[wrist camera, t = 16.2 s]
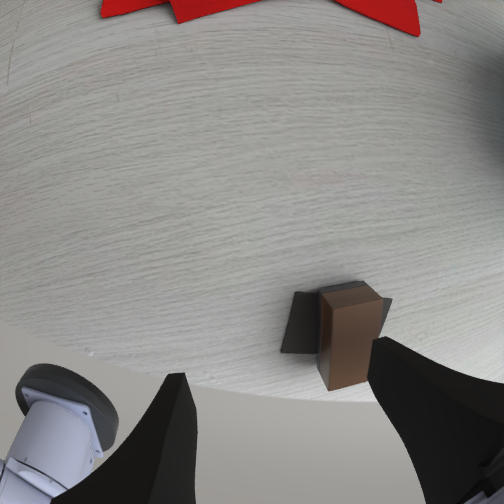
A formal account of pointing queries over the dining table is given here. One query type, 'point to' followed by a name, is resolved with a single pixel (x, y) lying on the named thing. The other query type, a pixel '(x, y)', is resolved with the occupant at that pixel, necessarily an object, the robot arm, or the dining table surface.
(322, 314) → the eraser
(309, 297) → the dark grey flat slab
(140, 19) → the dining table surface
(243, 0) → the cloth
